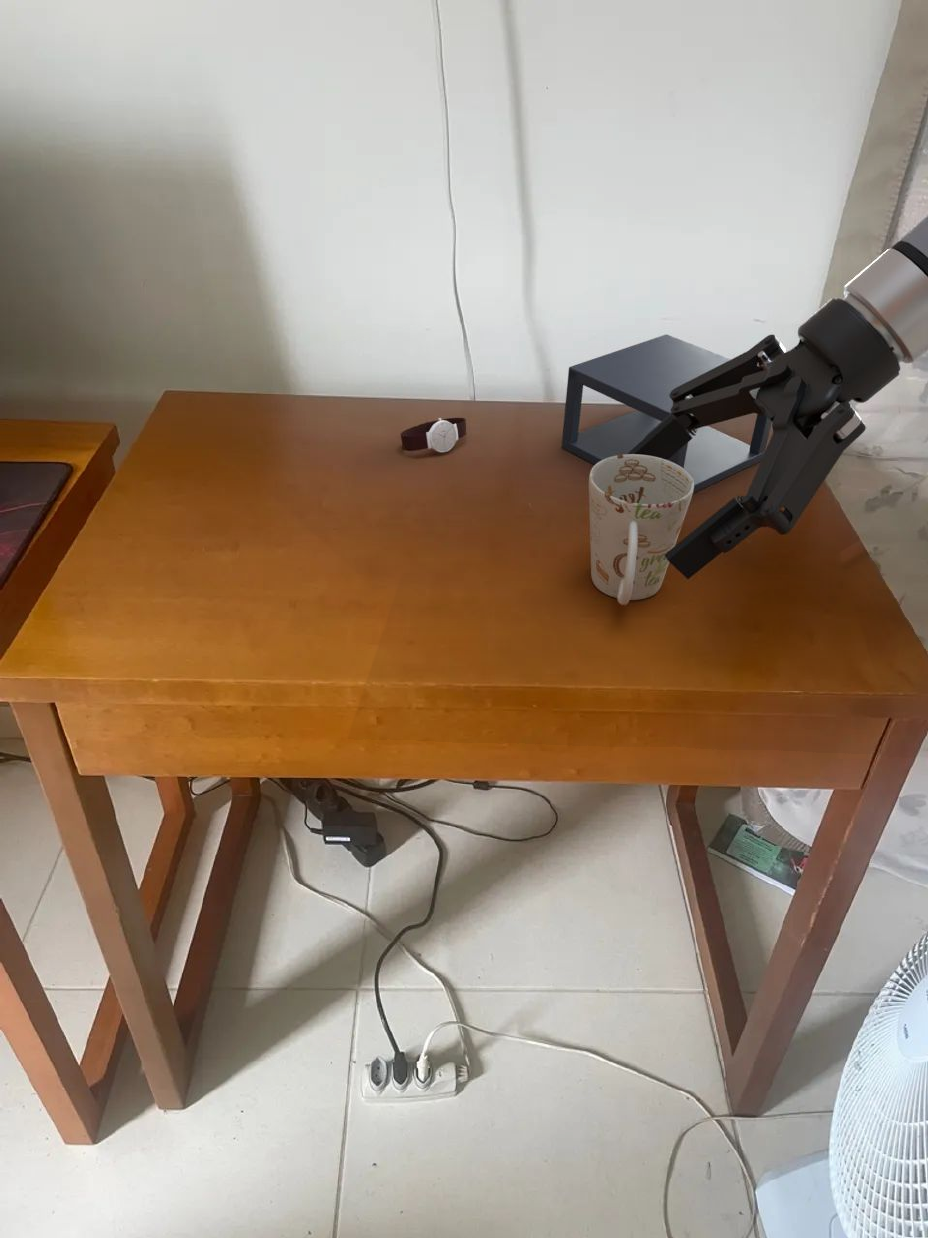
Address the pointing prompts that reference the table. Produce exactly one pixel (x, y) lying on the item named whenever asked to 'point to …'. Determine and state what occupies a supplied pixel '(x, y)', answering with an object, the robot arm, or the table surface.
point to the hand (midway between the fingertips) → (647, 520)
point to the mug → (635, 522)
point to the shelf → (654, 409)
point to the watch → (434, 435)
